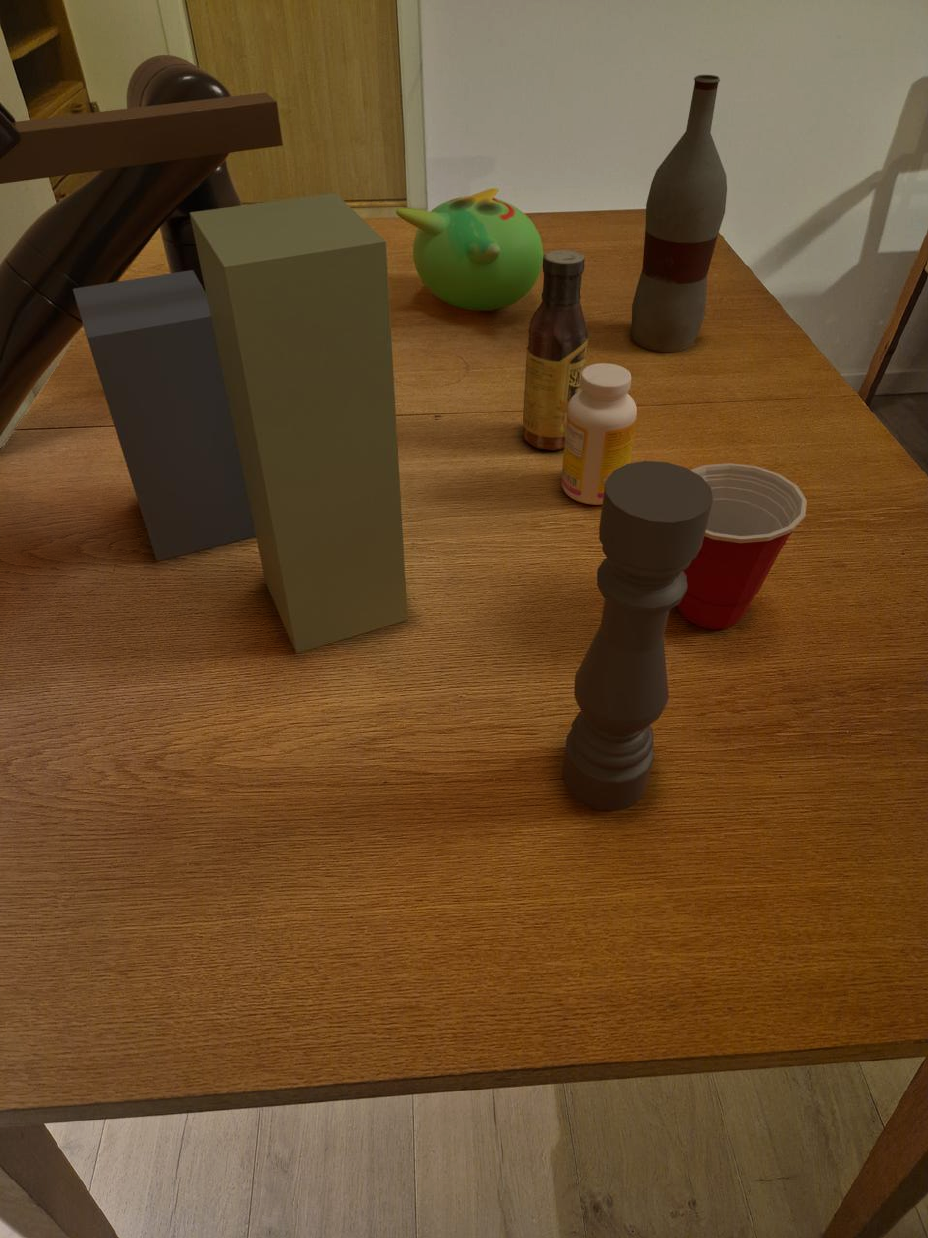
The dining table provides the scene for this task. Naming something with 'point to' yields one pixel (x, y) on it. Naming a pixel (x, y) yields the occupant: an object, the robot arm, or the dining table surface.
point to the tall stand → (311, 406)
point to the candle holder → (632, 628)
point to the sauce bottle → (555, 351)
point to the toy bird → (476, 251)
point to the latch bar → (141, 136)
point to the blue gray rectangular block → (169, 409)
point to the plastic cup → (738, 541)
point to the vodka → (681, 232)
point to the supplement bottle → (597, 431)
